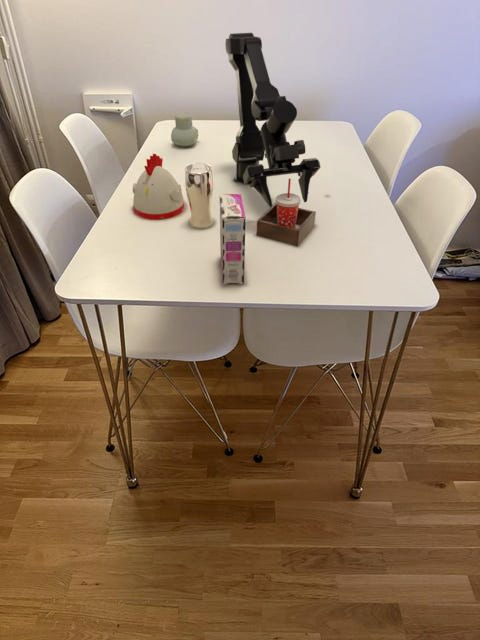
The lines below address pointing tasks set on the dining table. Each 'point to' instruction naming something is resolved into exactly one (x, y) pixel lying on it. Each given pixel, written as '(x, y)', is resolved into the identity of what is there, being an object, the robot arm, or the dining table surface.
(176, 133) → the air freshener
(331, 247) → the dining table surface
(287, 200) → the beverage cup
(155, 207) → the kitchen timer
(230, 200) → the candy bar box
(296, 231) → the crate
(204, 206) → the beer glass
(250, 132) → the robot arm
